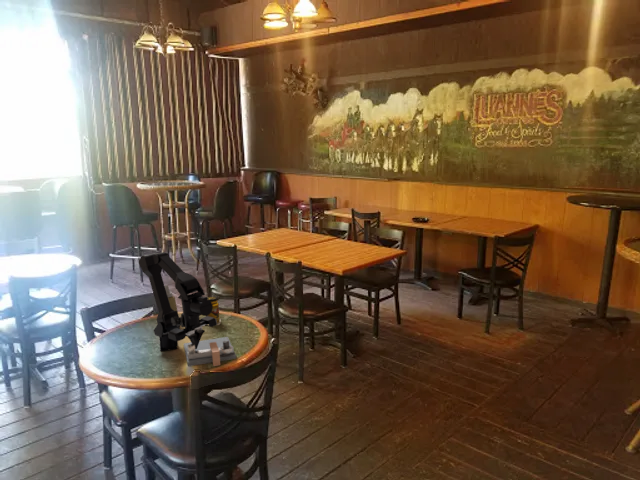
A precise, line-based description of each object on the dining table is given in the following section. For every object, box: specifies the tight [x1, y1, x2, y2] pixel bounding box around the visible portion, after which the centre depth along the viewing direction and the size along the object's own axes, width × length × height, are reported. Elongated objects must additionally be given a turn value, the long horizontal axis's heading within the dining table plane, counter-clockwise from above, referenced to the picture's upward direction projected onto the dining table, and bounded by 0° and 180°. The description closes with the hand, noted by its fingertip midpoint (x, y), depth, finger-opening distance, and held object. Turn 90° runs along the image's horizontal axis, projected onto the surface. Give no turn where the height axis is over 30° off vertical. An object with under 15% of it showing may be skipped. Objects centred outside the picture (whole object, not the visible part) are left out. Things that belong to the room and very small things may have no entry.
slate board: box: [183, 336, 237, 367], centre depth 198 cm, size 18×20×1 cm
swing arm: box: [188, 340, 235, 360], centre depth 191 cm, size 17×5×5 cm, turn 107°
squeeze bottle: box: [164, 284, 179, 313], centre depth 230 cm, size 8×8×18 cm
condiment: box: [206, 296, 222, 326], centre depth 229 cm, size 7×8×12 cm
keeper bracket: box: [209, 342, 221, 367], centre depth 190 cm, size 2×10×6 cm, turn 19°
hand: (195, 348), depth 192 cm, fingers closed
